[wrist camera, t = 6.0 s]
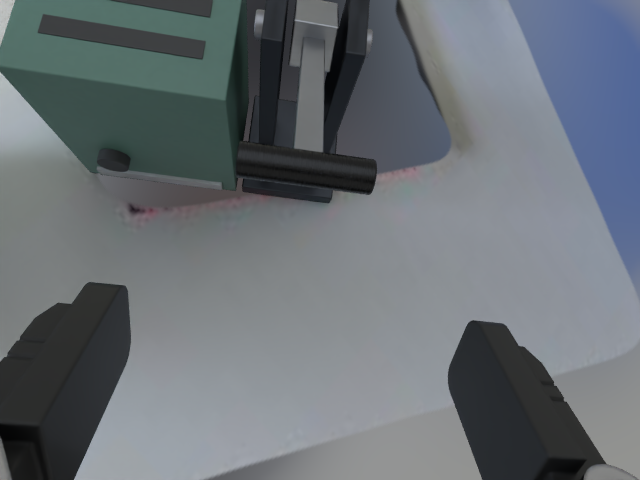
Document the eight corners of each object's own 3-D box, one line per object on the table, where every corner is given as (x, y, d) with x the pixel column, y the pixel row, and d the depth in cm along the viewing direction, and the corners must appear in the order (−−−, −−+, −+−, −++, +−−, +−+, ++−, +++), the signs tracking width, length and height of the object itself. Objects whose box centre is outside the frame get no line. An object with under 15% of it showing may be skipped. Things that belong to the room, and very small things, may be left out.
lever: (365, 212, 17) (382, 164, 15) (234, 195, 16) (235, 143, 15) (354, 51, 25) (364, 7, 23) (266, 36, 25) (269, -10, 23)
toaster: (234, 200, 35) (223, 114, 22) (87, 182, 33) (-12, 78, 21) (248, 102, 37) (246, -27, 24) (111, 81, 36) (35, -67, 23)
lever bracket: (329, 203, 36) (385, 92, 21) (242, 192, 35) (233, 68, 20) (336, 115, 38) (392, -44, 23) (254, 102, 37) (255, -71, 22)
